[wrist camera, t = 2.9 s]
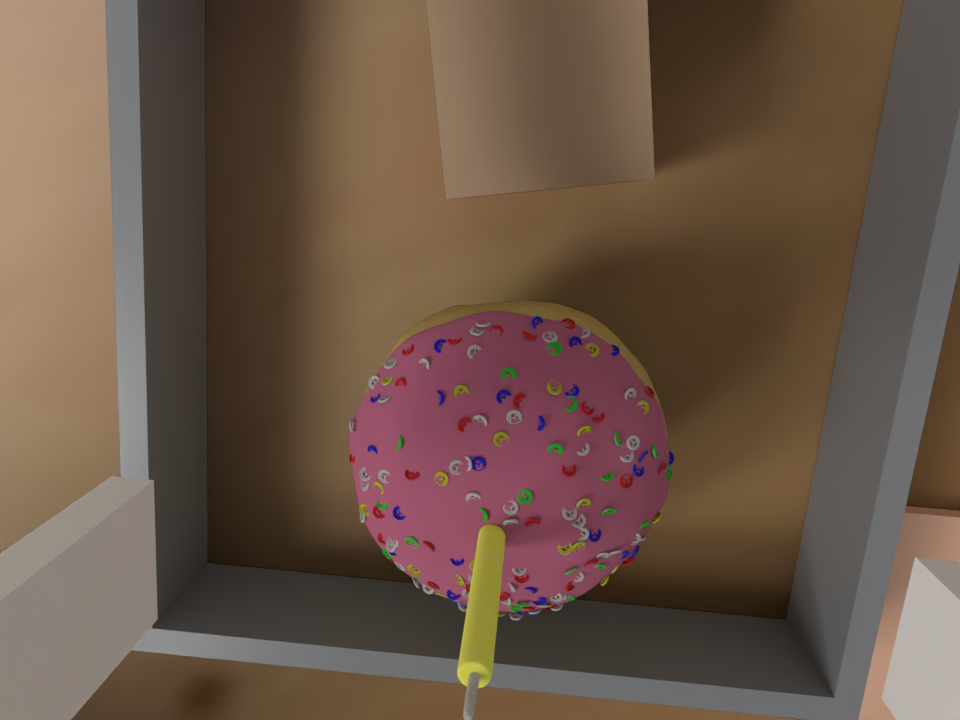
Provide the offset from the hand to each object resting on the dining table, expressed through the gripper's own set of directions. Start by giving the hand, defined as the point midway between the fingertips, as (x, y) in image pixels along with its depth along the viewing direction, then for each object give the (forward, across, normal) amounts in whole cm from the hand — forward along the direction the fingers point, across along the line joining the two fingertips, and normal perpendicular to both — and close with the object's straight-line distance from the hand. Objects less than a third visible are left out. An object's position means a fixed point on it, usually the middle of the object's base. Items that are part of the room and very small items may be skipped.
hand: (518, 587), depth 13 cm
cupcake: (+12, 0, 0) cm, 12 cm away
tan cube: (+12, 0, +9) cm, 15 cm away
